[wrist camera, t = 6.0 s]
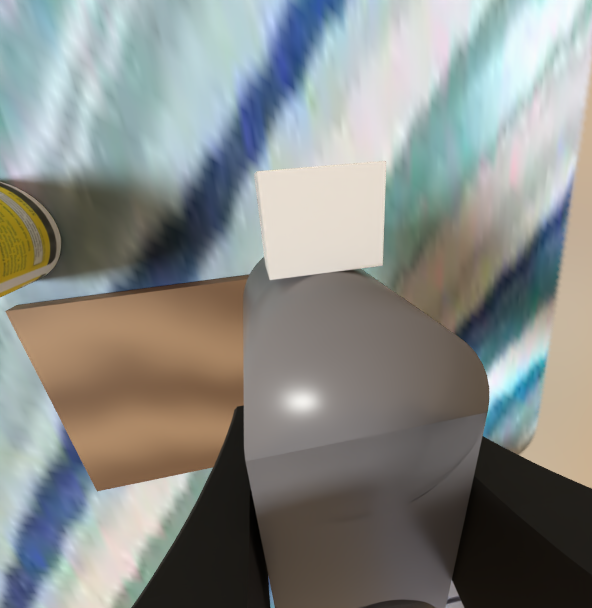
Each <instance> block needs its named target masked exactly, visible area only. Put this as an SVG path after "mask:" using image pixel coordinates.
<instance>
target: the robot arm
mask: <svg viewBox="0 0 592 608" xmlns="http://www.w3.org/2000/svg"><path fill="white" fill-rule="evenodd" d="M132 608H270V597H269V582H268V570H267V565H266V560H265V555H264V550H263V545H262V541H261V536H260V531H259V526H258V521H257V516H256V511H255V506H254V501H253V496H252V491H251V486H250V481H249V476H248V471H247V466H246V462H245V452H244V405H243V406H237V408H236V409H235V410H234V413H233V417H232V421H231V424H230V427H229V430H228V432H227V435H226V438H225V440H224V443H223V446H222V448H221V450H220V453H219V455H218V457H217V460H216V462H215V465H214V467H213V469H212V471H211V473H210V475H209V477H208V479H207V481H206V484H205V486H204V488H203V490H202V492H201V494H200V496H199V498H198V500H197V502H196V504H195V506H194V507H193V509H192V511H191V513H190V515H189V517H188V518H187V520H186V522H185V524H184V526H183V527H182V529H181V531H180V533H179V534H178V536H177V538H176V539H175V541H174V543H173V544H172V546H171V548H170V549H169V551H168V552H167V554H166V556H165V557H164V559H163V561H162V562H161V564H160V565H159V567H158V569H157V570H156V572H155V573H154V575H153V577H152V578H151V580H150V581H149V583H148V584H147V586H146V587H145V589H144V590H143V592H142V593H141V595H140V596H139V598H138V599H137V601H136V602H135V603H134V605H133V606H132ZM446 608H592V489H591V488H589V487H586V486H584V485H582V484H579V483H577V482H575V481H573V480H570V479H568V478H566V477H563V476H561V475H559V474H556V473H555V472H552V471H550V470H548V469H546V468H544V467H542V466H539V465H537V464H535V463H533V462H531V461H529V460H527V459H525V458H523V457H521V456H519V455H517V454H515V453H513V452H511V451H509V450H507V449H505V448H503V447H502V446H500V445H498V444H496V443H494V442H492V441H491V440H489V439H487V438H485V437H483V436H482V440H481V445H480V450H479V454H478V459H477V464H476V468H475V473H474V478H473V482H472V487H471V492H470V496H469V501H468V506H467V510H466V515H465V520H464V524H463V529H462V534H461V538H460V543H459V548H458V552H457V557H456V562H455V566H454V571H453V576H452V580H451V585H450V590H449V595H448V599H447V604H446Z"/></svg>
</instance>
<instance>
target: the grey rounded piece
mask: <svg viewBox="0 0 592 608" xmlns="http://www.w3.org/2000/svg"><path fill="white" fill-rule="evenodd" d="M254 177H255V185H256V193H257V201H258V209H259V217H260V225H261V234H262V242H263V250H264V257H263V258H262V259H261V260H260V261H259V262H258V263H257V265H256V266H255V267H254V269H253V270H252V271H251V273H250V275H249V277H248V279H247V282H246V285H245V288H244V293H243V373H244V452H245V462H246V466H247V471H248V476H249V481H250V486H251V491H252V496H253V501H254V506H255V511H256V516H257V521H258V526H259V531H260V536H261V541H262V545H263V550H264V555H265V560H266V565H267V570H268V575H269V580H270V585H271V590H272V595H273V600H274V605H275V608H446V604H447V599H448V595H449V590H450V585H451V580H452V576H453V571H454V566H455V562H456V557H457V552H458V548H459V543H460V538H461V534H462V529H463V524H464V520H465V515H466V510H467V506H468V501H469V496H470V492H471V487H472V482H473V478H474V473H475V468H476V464H477V459H478V454H479V450H480V445H481V440H482V436H483V431H484V426H485V422H486V417H487V412H488V405H489V385H488V379H487V375H486V372H485V369H484V367H483V364H482V362H481V361H480V359H479V357H478V356H477V354H476V353H475V352H474V351H473V349H472V348H471V347H470V346H469V345H468V344H467V343H466V342H465V341H463V340H462V339H461V338H459V337H458V336H457V335H455V334H454V333H453V332H451V331H450V330H448V329H447V328H445V327H444V326H442V325H441V324H440V323H438V322H437V321H435V320H434V319H432V318H431V317H429V316H428V315H427V314H425V313H424V312H422V311H421V310H419V309H418V308H417V307H415V306H414V305H412V304H411V303H409V302H408V301H406V300H405V299H404V298H402V297H401V296H399V295H398V294H396V293H395V292H394V291H392V290H391V289H389V288H388V287H386V286H385V285H383V284H382V283H381V282H379V281H378V280H376V279H375V278H373V277H372V276H371V275H369V274H368V273H366V272H365V271H363V270H362V269H360V268H368V267H376V266H383V241H384V211H385V180H386V161H379V162H367V163H354V164H342V165H330V166H318V167H305V168H293V169H281V170H268V171H257V172H256V173H255V174H254Z"/></svg>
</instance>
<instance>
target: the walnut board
mask: <svg viewBox="0 0 592 608" xmlns="http://www.w3.org/2000/svg"><path fill="white" fill-rule="evenodd" d="M248 277H249V275H243V276H236V277H228V278H220V279H213V280H205V281H198V282H190V283H182V284H175V285H167V286H160V287H152V288H144V289H137V290H129V291H121V292H114V293H106V294H99V295H91V296H83V297H76V298H68V299H61V300H53V301H45V302H38V303H30V304H22V305H16V306H14V307H13V308H11V309H9V310H7V311H6V313H7V315H8V317H9V319H10V321H11V323H12V325H13V327H14V329H15V331H16V333H17V335H18V337H19V339H20V341H21V343H22V345H23V347H24V349H25V351H26V353H27V355H28V357H29V359H30V360H31V362H32V364H33V366H34V368H35V370H36V372H37V374H38V376H39V378H40V380H41V382H42V384H43V386H44V388H45V390H46V392H47V394H48V396H49V398H50V400H51V402H52V404H53V406H54V408H55V410H56V411H57V413H58V415H59V417H60V419H61V421H62V423H63V425H64V427H65V429H66V431H67V433H68V435H69V437H70V439H71V441H72V443H73V445H74V447H75V449H76V451H77V453H78V455H79V457H80V459H81V461H82V462H83V464H84V466H85V468H86V470H87V472H88V474H89V476H90V478H91V480H92V482H93V484H94V486H95V488H96V490H97V491H101V490H106V489H111V488H115V487H120V486H125V485H130V484H135V483H139V482H144V481H149V480H154V479H159V478H164V477H168V476H173V475H178V474H183V473H188V472H192V471H197V470H202V469H207V468H212V467H214V465H215V462H216V460H217V457H218V455H219V453H220V450H221V448H222V446H223V443H224V440H225V438H226V435H227V432H228V430H229V427H230V424H231V421H232V417H233V413H234V410H235V409H236V408H237V406H243V405H244V373H243V293H244V288H245V285H246V282H247V279H248Z"/></svg>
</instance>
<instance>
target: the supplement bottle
mask: <svg viewBox="0 0 592 608" xmlns="http://www.w3.org/2000/svg"><path fill="white" fill-rule="evenodd" d="M60 252H61V237H60V232H59V230H58V227H57V225H56V223H55V221H54V219H53V218H52V216H51V215H50V213H49V212H48V211H47V210H46V209H45V208H44V207H43V205H41V204H40V203H39V202H38V201H37V200H36V199H34V198H33V197H32V196H30V195H29V194H27V193H26V192H24V191H22V190H20V189H18V188H16V187H14V186H11V185H8V184H5V183H2V182H0V297H2V296H4V295H6V294H9V293H11V292H13V291H15V290H17V289H19V288H22V287H24V286H26V285H28V284H30V283H32V282H34V281H37V280H39V279H40V278H42V277H44V276H45V275H47V274H48V273H49V272H50V271H51V270H52V269H53V268H54V267H55V265H56V263H57V261H58V259H59V256H60Z"/></svg>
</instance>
